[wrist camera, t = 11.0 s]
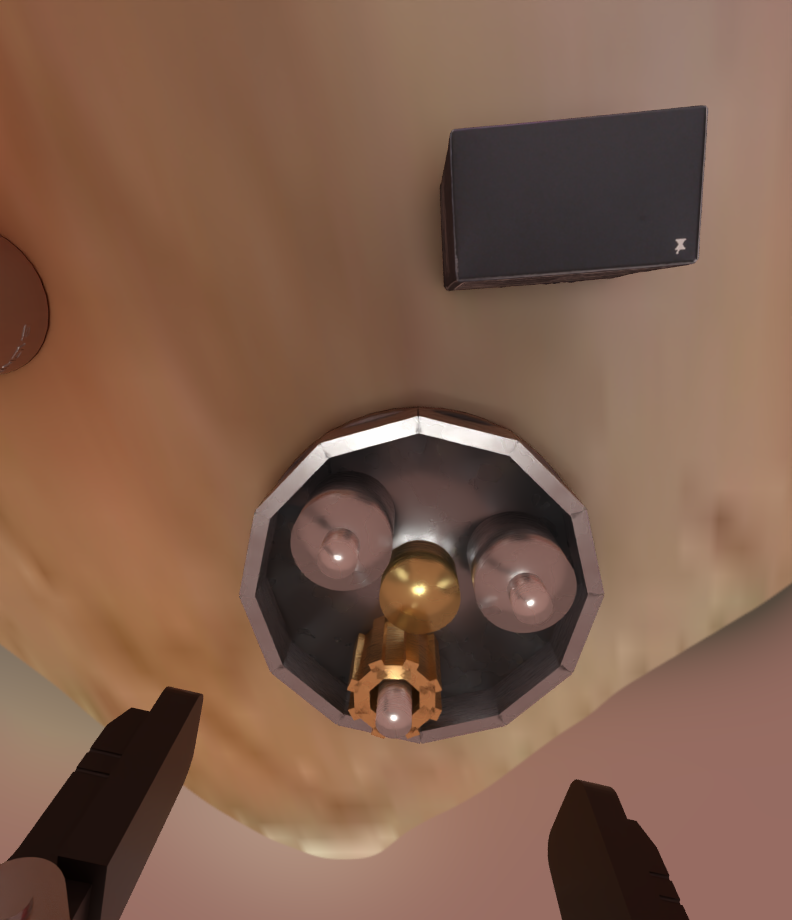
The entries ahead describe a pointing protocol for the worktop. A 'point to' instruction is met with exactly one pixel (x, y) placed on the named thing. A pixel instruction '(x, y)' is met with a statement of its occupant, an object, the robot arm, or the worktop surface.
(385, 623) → the planet gear
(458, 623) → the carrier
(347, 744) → the worktop surface
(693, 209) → the small box
